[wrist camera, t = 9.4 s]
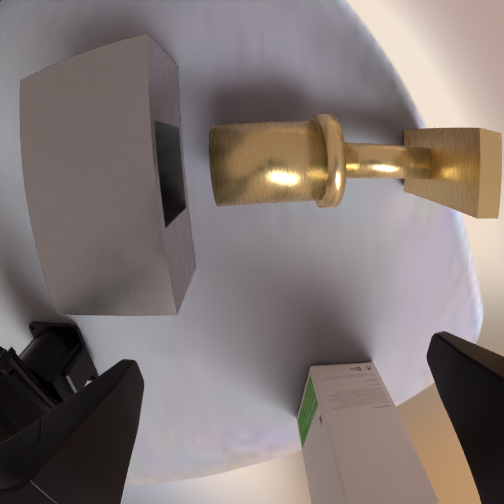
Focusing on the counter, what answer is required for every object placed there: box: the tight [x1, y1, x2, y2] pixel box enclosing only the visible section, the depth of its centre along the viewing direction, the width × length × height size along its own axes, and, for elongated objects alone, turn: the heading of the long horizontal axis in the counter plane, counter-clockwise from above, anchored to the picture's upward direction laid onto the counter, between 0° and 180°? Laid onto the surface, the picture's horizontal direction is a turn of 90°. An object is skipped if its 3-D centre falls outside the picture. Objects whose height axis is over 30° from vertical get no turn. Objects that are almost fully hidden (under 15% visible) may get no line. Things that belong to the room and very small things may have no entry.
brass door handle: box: [209, 114, 502, 218], centre depth 14 cm, size 14×5×8 cm, turn 94°
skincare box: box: [297, 362, 439, 504], centre depth 18 cm, size 8×7×16 cm
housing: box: [20, 33, 196, 316], centre depth 15 cm, size 8×14×6 cm, turn 4°
